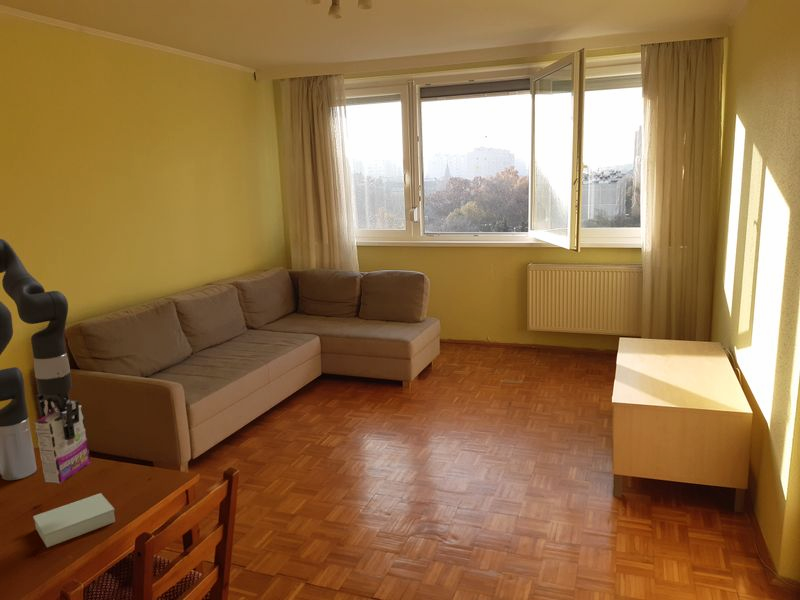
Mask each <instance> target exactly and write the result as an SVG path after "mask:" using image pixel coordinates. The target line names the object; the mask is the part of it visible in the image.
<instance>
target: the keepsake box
mask: <svg viewBox="0 0 800 600" xmlns="http://www.w3.org/2000/svg"><path fill="white" fill-rule="evenodd" d="M115 511H116V510H115V507H113V505H112V504H111V503H110V502H109V500H108V499H107V498H106V497H105V496H104V495H103V494H102V492H100V493H97V494H94V495H91V496H88V497H85V498H83V499H82V498H81V499H80V500H77V501H74V502H71V503H68V504H65V505H62V506H61V505H60V506H59V507H55V508H53V509H50V510H47V511H44V512H40V513H39V514H36V515H33V516H32V518H33V520H34V523H35V524H34V525H35V529H36V531H37V533H38V535H39V537H40V538H41V540H42V541H43V543H44V545H45V547H46V548H49V547H51V546H52V547H53V546H54V545H57V544H60V543H63V542H65V541H68V540H71V539H74V538H76V537H80V536H81V535H83V534H87V533H89V532H92V531H95V530H97V529H99V528H103V527H105V526H108V525H110V524H113V523H116V517H115Z"/></svg>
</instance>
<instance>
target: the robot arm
mask: <svg viewBox="0 0 800 600" xmlns="http://www.w3.org/2000/svg"><path fill="white" fill-rule="evenodd" d="M1 273H4V274H3V277H2V279H1V283H2V288H3V290H4V292H5V293H6V295H8V297H9V298H10V299H12V301H13V302H14V303H15V306H16V308H17V309H16V310H17V314H18V317H19V320H21V321H22V322H23V323H26V324H29V325H35V324H40V323H47V322H48V325H47V326H46V327H45V328H44V329H42V330H39V331H37V332H35V333H34V334H32V336H31V337H30V341H31V349H32V355H33V370H34V376H35V382H36V390H37V393H38V394H36V396H35V398H36V403H37V407H38V411H39V415H40V417H41V418H42V417H44V416H46V415H48V414H50V413H52V412H56V414H57V417H59V418H61V419H62V423H63V429H64V435H65V439H66V440H70V439H73V438H74V437H75V432H74V423H77V422H79V400H78V399H75V400H72V399H71V397H70V395H69V391H70V390H72V388H73V382H72V374H71V369H70V366H71V365H70V363H69V358H68V357H69V356H68V354H67V347H66V341H65V331H66V324H67V318H68V312H69V303H68V300H67V298H66V296H65V294H63V293H62V292H61V291H58V290H50V291H46V292H45V288H44V287H43V285H42V284H41V283H40V282H39V281H38V280H37V279H36V278H35V277H33V275H31V274H30V272H28V270H27V269H26V267H25V265H24V264H23V263H22V261H21V259H20V257H19V256H18V254H17V252H16V251H15V250H14V248H13V247H12V246H11V245H10V243H9V242H8V241H6V240H5V239H2V238H0V274H1ZM13 327H14V326H13V317H12V313H11V311H10V309H9V308H8V307H7V305H5V304H4V303H3V302H2V301H1V300H0V356H1V355H2V354H3V352H4V351H5V349H6V348H7V347H8V345H9V344H10V343H11V340H12V338H13V334H14V328H13ZM25 390H26V389H25V381H24V376H23V373H22V371H21V369H20V368H19V367H16V366H15V367H8V368H3V369H0V402H3V401H4V402H5V401H9V400H10V402H9V403H7V404H6V405H5V406H4V407H2V408H0V475H1V479H2V480H4V481H15V480H21V479H25V478H27V477H29V476H31V475H34V473H36V471H37V463H36V455H35V450H34V444H33V437H32V432H31V424H30V418H29V413H28V407H27V400H26V391H25ZM65 411H66V413H64V414H62V412H65ZM65 416H67V421H66V419H65ZM73 416H74V417H73Z"/></svg>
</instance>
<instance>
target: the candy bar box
mask: <svg viewBox="0 0 800 600" xmlns="http://www.w3.org/2000/svg"><path fill="white" fill-rule="evenodd" d="M64 413H66V411H65V412H62V414H64ZM73 417H74V416H73ZM65 419H66V421H67V416H65ZM33 424H34V428H35V433H36V439H37V445H38V448H39V450H38V451H39V457H40V461H41V468H42V473H43V478H44V482H45V483H46V484H56V485H57V484H58V485H59V484H60V485H61V484H63V483H64V482H66V481H67V480H69V479H70V478H72V477H73V476H75V475H76V474H77V473H79V472H81V470H83V469H85V468H86V467H88V465H90V464H91V463H92V461H91V458H90V450H89V444H88V438H87V431H86V424H85V419H84V413H83V406H82V405H79V422H77V423H74V432H75V437H74V438H73V439H70V440H66V439H65V435H64V429H63V423H62V419H61V418H59V417H57V414H56V412H52V413H50V414H48V415H46V416H44V417H41V418H39V419H37V420H35V421H34V423H33Z"/></svg>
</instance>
